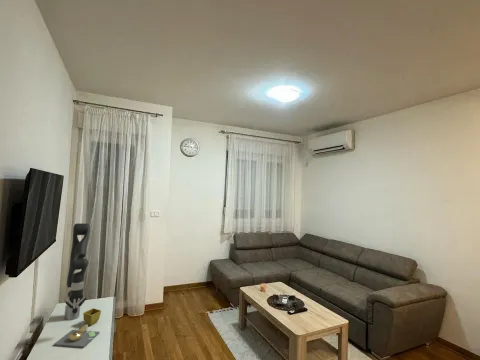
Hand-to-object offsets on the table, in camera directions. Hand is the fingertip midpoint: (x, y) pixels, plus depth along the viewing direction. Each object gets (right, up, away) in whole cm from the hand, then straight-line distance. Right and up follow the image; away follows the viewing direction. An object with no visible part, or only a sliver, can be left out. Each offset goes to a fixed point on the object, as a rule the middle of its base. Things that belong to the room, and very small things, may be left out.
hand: (74, 313), depth 171 cm
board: (+6, -15, -5) cm, 17 cm away
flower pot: (+3, -17, +15) cm, 22 cm away
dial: (+5, -14, -3) cm, 15 cm away
